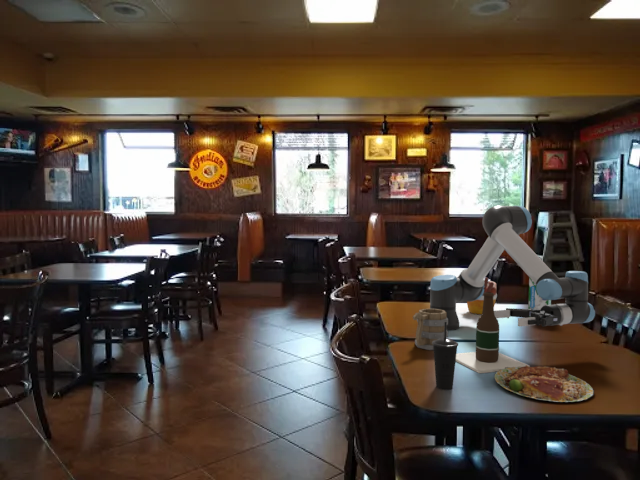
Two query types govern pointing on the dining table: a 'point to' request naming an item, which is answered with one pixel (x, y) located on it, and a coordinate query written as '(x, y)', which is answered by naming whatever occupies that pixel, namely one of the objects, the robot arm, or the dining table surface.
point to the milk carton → (535, 297)
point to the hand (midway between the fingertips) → (505, 318)
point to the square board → (483, 367)
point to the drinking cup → (444, 360)
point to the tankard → (429, 327)
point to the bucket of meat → (482, 298)
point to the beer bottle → (487, 332)
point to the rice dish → (544, 383)
